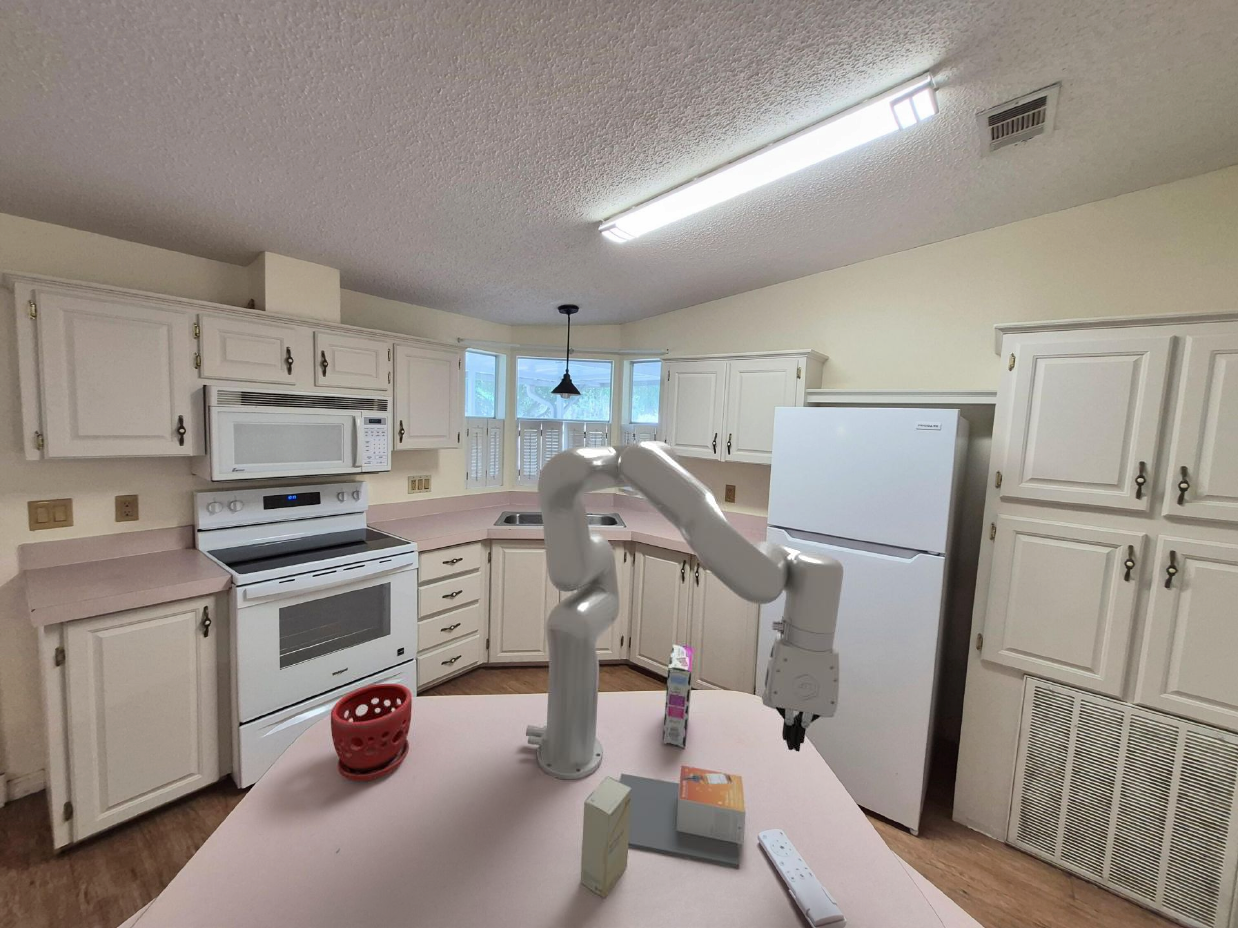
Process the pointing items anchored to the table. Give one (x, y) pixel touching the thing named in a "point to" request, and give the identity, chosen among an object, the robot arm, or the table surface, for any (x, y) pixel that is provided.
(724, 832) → the small box
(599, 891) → the skincare box
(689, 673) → the candy bar box
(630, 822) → the mat
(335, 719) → the plant pot
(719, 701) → the table surface
